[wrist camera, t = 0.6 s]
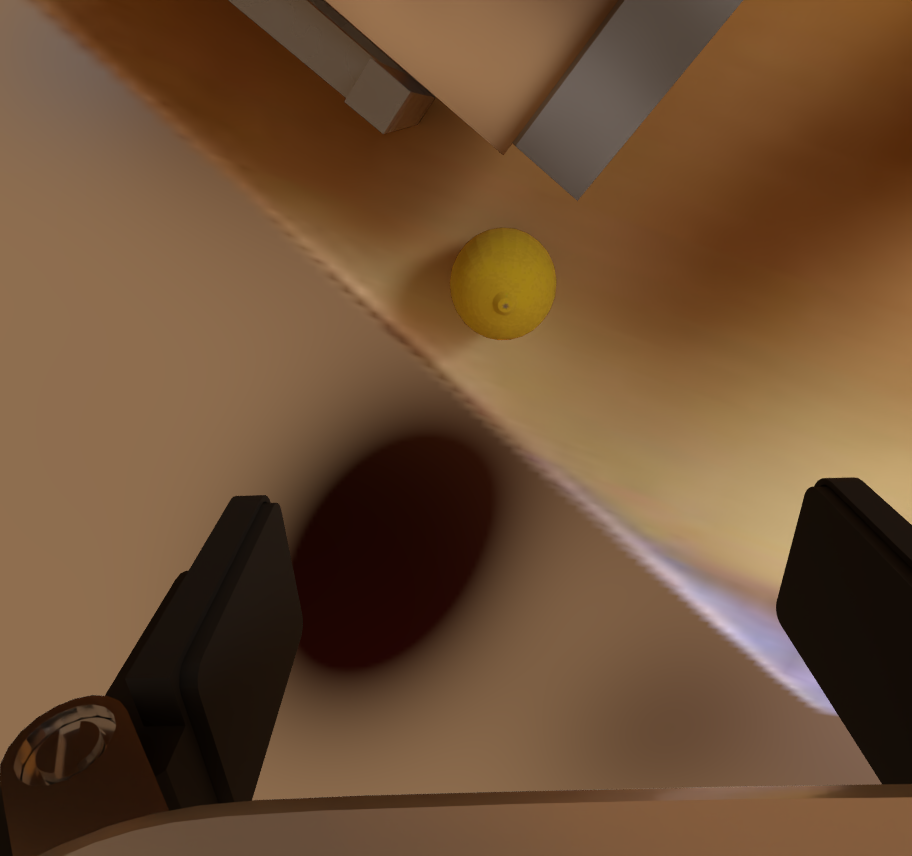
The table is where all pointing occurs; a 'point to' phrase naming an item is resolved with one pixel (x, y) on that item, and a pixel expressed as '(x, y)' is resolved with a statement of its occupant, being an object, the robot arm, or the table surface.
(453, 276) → the lemon
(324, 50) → the frame
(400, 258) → the table surface
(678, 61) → the trapdoor
